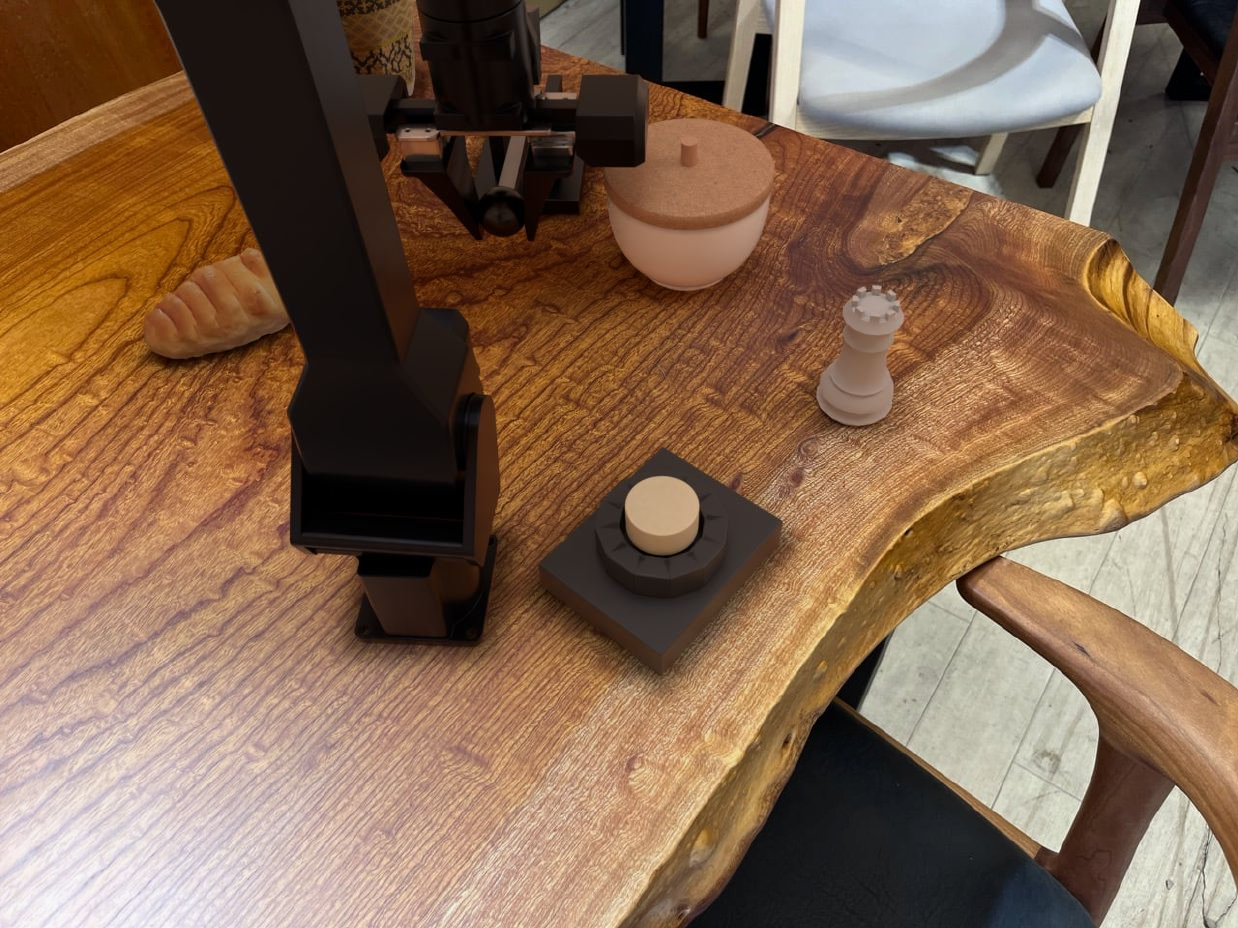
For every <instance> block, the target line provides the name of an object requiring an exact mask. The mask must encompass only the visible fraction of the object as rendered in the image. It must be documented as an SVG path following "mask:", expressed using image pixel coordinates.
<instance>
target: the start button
mask: <svg viewBox="0 0 1238 928" xmlns="http://www.w3.org/2000/svg"><path fill="white" fill-rule="evenodd" d="M625 520H626V531H627V534H628V537H629V539H630V540H631V541H632V543H633V544H634V545H635V546H636V547H638V548H639V549H641V550H642V551H644V552H646V553H649V554H653V555H661V556H662V555H671V554H675V553H678V552H680V551H682V550H684V549H685V548H687V547H688V546H689V545H690V544H691V543H692V542H693V541H694V539H695V537H696V535H697V532H698V523H699V500H698V497H697V495H696V493H695V492H694V490H693V489H692V488H691V487H690V486H689V485H688V484H686V483H685V482H683V481H681V480H679V479H676V478H673V477H668V476H656V477H651V478H648V479H645V480H643V481H641V482H639V483H638V484H636V485H635V486H634V487H633V488H632V489H631V490H630V492H629V493H628V495H627V498H626V501H625Z"/></svg>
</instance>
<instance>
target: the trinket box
mask: <svg viewBox="0 0 1238 928" xmlns="http://www.w3.org/2000/svg"><path fill="white" fill-rule="evenodd" d="M602 168H603V185H604V189H605V193H606V204H607V213H608V217H609V223H610V226H611V230H612V233H613V236H614V238H615V242H616V244H617V245H618V247H619V249H620V250H621V252H622V254H623V256H624V257H625V258H626V259H627V260H628V262H629V263H630V264H631V265H632V266H633V267H634V268H635V269H636V270H638V271H639V272H640V273H641V274H643V275H644V276H646V277H648V279H650V280H651V281H652V282H653V283H655V284H657V285H659V286H661V287H664V288H665V289H669V290H674V291H682V292H688V291H690V292H691V291H700V290H704V289H707V288H710V287H712V286H714V285H716V284H718V283H719V282H721V281H723V280H724V279H725V278H726V277H728V276H730V275H731V274H733V273H734V272H735V271H736V270H737V269H740V268H741V266H742V265H743V264H744V263H745V262H746V261H747V260H748V258H749V257H750V256H751V254H752V253H753V251H754V250H755V248H756V247H757V245H758V243H759V241H760V239H761V236H762V235H763V231H764V229H765V228H764V227H765V225H766V221H767V218H768V213H769V208H770V202H771V193H772V190H773V186H774V182H775V173H776V172H775V171H776V166H775V161H774V158H773V156H772V153H771V152H770V151H769V149H768V147H767V146H766V145H765V144H764V143H763V142H762V141H761V140H760V139H758V138H757V137H756V136H755V135H754V134H752V133H751V132H749V131H747V130H745V129H743V128H741V127H738V126H736V125H732V124H730V123H727V122H724V121H723V122H722V121H718V120H713V119H707V118H690V117H689V118H673V119H666V120H661V121H657V122H652V123H648V135H647V148H646V160H645V163H643V164H641V165H639V166H637V167H635V168H624V167H602Z"/></svg>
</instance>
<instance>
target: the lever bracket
mask: <svg viewBox="0 0 1238 928" xmlns="http://www.w3.org/2000/svg"><path fill="white" fill-rule="evenodd" d="M543 93H564V89H563V77H562V74H547V76H546V82H545V86H544V92H543ZM509 141H510V136H484V141H483V144H482V148H481V153H480V155H479V160H478V164H477V168H476V171H475V176H474V177H473V178H474V182H475V186H476V190H477V194H478V197H479V201H480V199H481V197H482V195H483V194H484V193H485V192H486V191H488V190H489V189H491V188H493V187H497V186H498V185H499V181H500V177H501V173H502V169H503V165H504V161H505V157H506V153H507V149H508V145H509ZM528 145H529V144H528ZM527 150H528V149H527ZM526 154H527V153H526ZM525 159H526V157H525ZM524 164H525V162H524ZM523 168H524V166H523ZM586 170H587V164H586V163H585V162H584V161H583V160H581V159H580V158H579V157H578V156H576V162H575V168H574V173H573V174H572V175H571V176H570V177H568V178H558V179H556V180H555V182H554V184H553V186H552V188H551V190H550V192H549V194H548V196H547V198H546V200H545V203H544V205H543V208H542V212H541V214H545V215H547V214H549V215H550V214H552V215H553V214H554V215H555V214H561V215H562V214H563V215H580V212H581V205H582V200H583V191H584V186H585V185H584V184H585V178H586ZM518 192H519V193H520V194H521V196H522V197H523V198H524V193H523V171H522V175H521V179H520V184H519V188H518Z"/></svg>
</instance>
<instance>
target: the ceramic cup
mask: <svg viewBox="0 0 1238 928" xmlns="http://www.w3.org/2000/svg"><path fill="white" fill-rule="evenodd" d="M336 2H337V6H338V10H339V13H340V17H341V21H342V24H343V28H344V32H345V35H346V39H347V43H348V46H349V50H350V54H351V57H352V61H353V65H354V68H355V72H356V75H400V76H401V77H402V78H403V79H404V80H405V81H406V84H407V89H408V93H409V97H410V96H412V95H413V92H414V89H415V79H416V60H415V39H414V38H415V35H414V34H415V33H414V32H415V31H414V11H415V0H336Z"/></svg>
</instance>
